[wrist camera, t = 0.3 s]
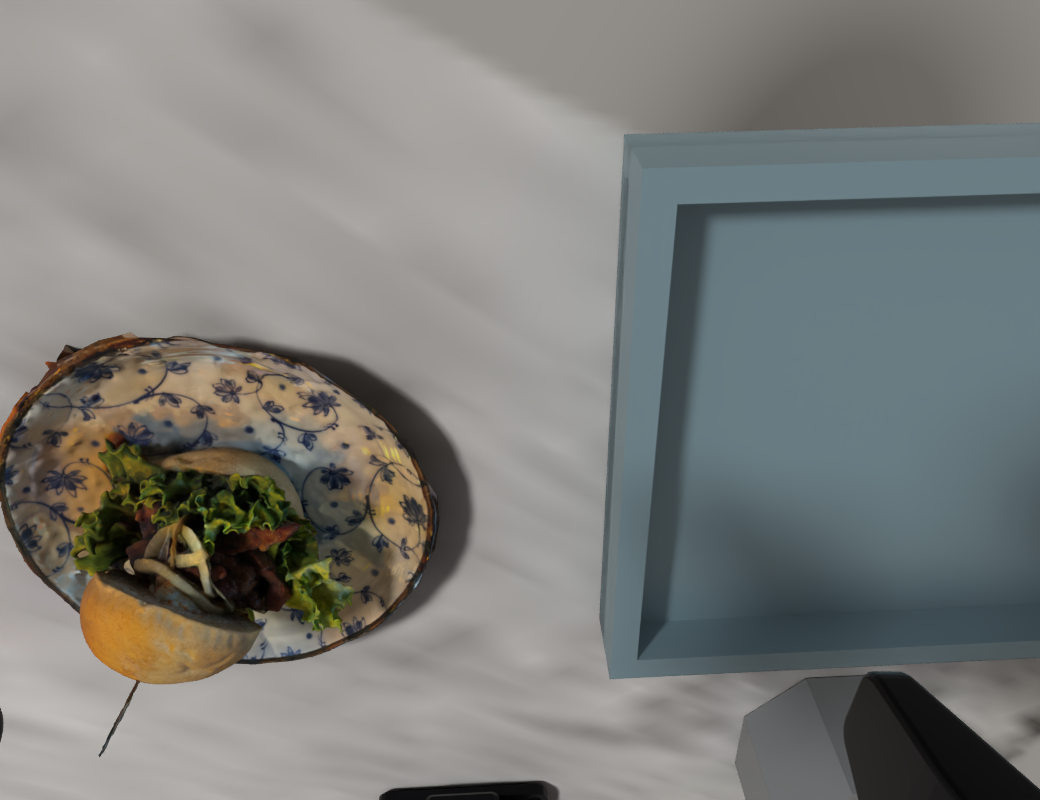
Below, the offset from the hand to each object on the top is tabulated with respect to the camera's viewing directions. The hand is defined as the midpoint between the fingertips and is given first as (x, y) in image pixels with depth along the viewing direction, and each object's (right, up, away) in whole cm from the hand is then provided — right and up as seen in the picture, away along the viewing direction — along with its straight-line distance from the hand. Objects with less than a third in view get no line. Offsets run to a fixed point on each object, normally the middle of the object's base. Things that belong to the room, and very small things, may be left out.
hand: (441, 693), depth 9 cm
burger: (-8, +1, +17) cm, 18 cm away
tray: (+13, +3, +16) cm, 21 cm away
